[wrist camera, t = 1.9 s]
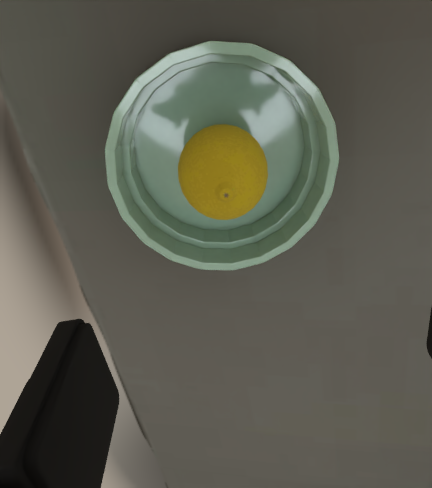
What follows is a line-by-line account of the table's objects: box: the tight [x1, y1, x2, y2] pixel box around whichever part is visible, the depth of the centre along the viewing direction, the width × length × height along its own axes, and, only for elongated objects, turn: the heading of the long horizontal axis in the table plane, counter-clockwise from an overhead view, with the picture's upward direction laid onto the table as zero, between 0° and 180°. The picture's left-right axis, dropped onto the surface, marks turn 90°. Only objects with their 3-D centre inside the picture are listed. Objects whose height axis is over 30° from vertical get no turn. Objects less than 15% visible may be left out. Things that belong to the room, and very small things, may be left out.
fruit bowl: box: [105, 41, 339, 270], centre depth 25 cm, size 14×14×4 cm
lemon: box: [178, 124, 268, 220], centre depth 23 cm, size 6×6×8 cm
